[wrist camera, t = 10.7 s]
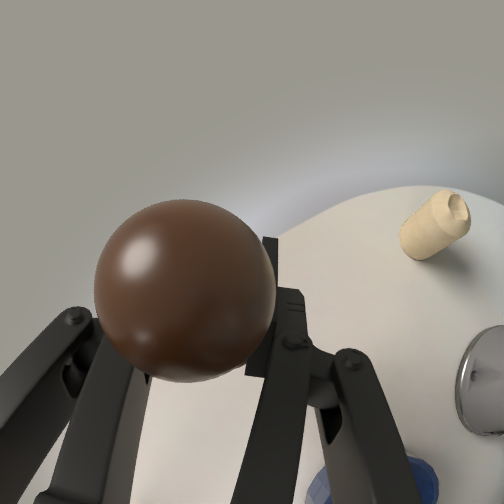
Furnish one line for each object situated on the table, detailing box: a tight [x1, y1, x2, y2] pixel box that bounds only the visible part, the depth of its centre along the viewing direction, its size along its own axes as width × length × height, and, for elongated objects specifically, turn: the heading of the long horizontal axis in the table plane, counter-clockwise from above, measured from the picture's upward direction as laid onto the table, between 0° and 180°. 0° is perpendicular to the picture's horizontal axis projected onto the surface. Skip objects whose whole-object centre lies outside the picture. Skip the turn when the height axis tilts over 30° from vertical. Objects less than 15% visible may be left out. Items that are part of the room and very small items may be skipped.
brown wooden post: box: [94, 199, 276, 383], centre depth 13 cm, size 4×4×19 cm
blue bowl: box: [305, 452, 439, 504], centre depth 24 cm, size 14×14×6 cm
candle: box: [399, 190, 471, 260], centre depth 32 cm, size 6×6×10 cm
